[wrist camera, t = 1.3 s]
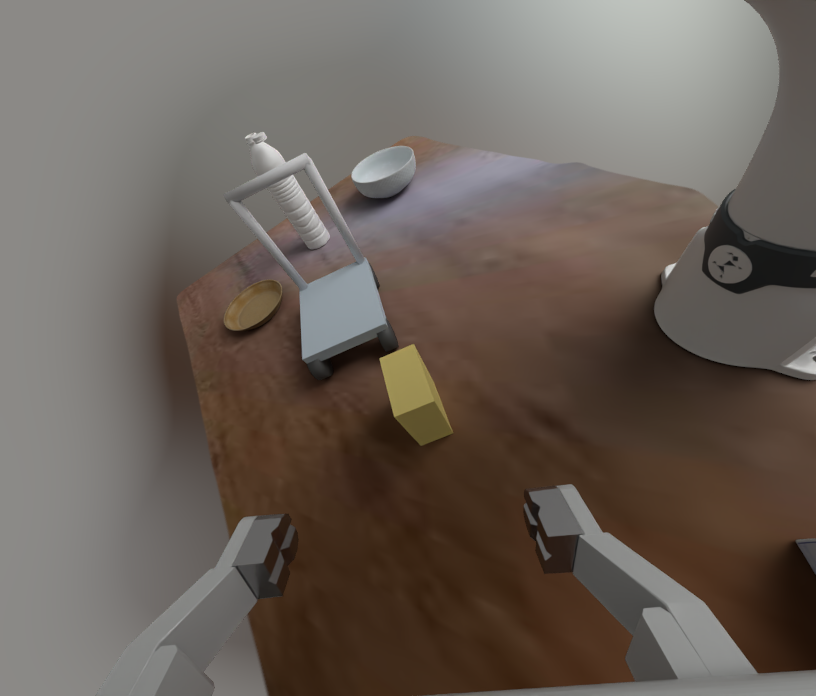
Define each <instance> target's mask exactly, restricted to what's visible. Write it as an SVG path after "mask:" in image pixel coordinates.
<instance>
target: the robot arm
mask: <svg viewBox="0 0 816 696" xmlns="http://www.w3.org/2000/svg"><path fill="white" fill-rule="evenodd" d="M744 1H746V2H747V3H749V4H750V5H751V6H752V7H753V8H754V9H755V10H756V11H757V12H758V13H759V14H760V16H761V17H762V18H763V20H764V21H765V23H766V24H767V26H768V28H769V30H770V32H771V34H772V36H773V39H774V41H775V45H776V49H777V54H778V60H779V86H778V93H777V98H776V102H775V106H774V109H773V112H772V115H771V117H770V120H769V122H768V124H767V127H766V129H765V131H764V134H763V136H762V138H761V141H760V143H759V145H758V147H757V149H756V151H755V153H754V155H753V158H752V160H751V161H750V163H749V166H748V167H747V169H746V171H745V173H744V175H743V177H742V179H741V181H740V182H739V184H738V186H737V188H736V189H734V190H733V191H732V192H730V193H729V194H728V195H727V197H726V198H725V199H724V200H723V202H722V204H721V205H720V206H719V207H718V208H717V210H716V211H715V213H714V215H713V216H712V218H711V220H710V224H709V226H707V227H703V228H701V229H700V230H699V231H698V232H697V233H696V234H695V236H694V237H693V239H692V240H691V242H690V243H689V245H688V246H687V248H686V249H685V251H684V252H683V254H682V256H681V257H680V259H679V260H678V262H677V263H675V264H671V265H669V266H667V267H666V268H665V269H664V271H663V272H662V274H661V280H662V286H663V287H662V290H661V292H660V293H659V295H658V297H657V299H656V301H655V305H654V313H655V317H656V320H657V322H658V324H659V326H660V327H661V329H662V330H663V331H664V333H665V334H666V335H667V336H668V337H669V338H670V339H672V340H673V341H674V342H675V343H677V344H678V345H680V346H681V347H683V348H685V349H686V350H688V351H690V352H692V353H694V354H696V355H699V356H701V357H703V358H706V359H709V360H712V361H716V362H720V363H724V364H728V365H734V366H741V367H753V368H763V369H770V370H773V371H777V372H780V373H783V374H786V375H789V376H792V377H796V378H800V379H805V380H816V362H815V361H814V360H816V0H744ZM524 498H525V500H526V504H525V505H524V518H525V523H526V526H527V530H528V532H529V535H530V537H531V538H532V539H533V540H535V541H536V550H535V551H536V554H537V556H538V559H539V561H540V564H541V567H542V569H543V572H544V574H548V573H566V572H573V575H574V576H575V577H576V578H577V579H578V580H579V581H580V582H581V583H582V584H583V585H584V586H585V587H586V588H587V589H588V590H589V591H590V592H591V593H592V594H593V595H594V596H595V597H596V598H597V599H598V600H599V601H600V602H601V603H602V604H603V605H604V607H605V608H606V609H607V610H608V611H609V612H610V613H611V614H612V615H613V616H614V617H615V618H616V619H617V620H618V621H619V622H620V623H621V624H622V625H623V626H624V627H625V628H626V629H627V630H628V631H629V632H630V633H631V634H632V635H633V638H632V641H631V643H630V646H629V649H628V651H627V654H626V657H625V660H626V662H627V665H628V667H629V669H630V671H631V673H632V675H633V677H634V679H635V681H636V682H623V683H607V684H592V685H577V686H562V687H546V688H531V689H516V690H501V691H485V692H470V693H455V694H440V695H424V696H816V670H806V671H791V672H775V673H760V674H758V673H757V672H756V670H755V669H754V668H753V666H752V665H751V664H750V662H749V661H748V660H747V658H746V657H745V656H744V654H743V653H742V652H741V650H740V649H739V648H738V646H737V645H736V644H735V643H734V641H733V640H732V639H731V637H730V636H729V635H728V633H727V632H726V631H725V629H724V628H723V627H722V625H721V624H720V623H719V621H718V620H717V619H716V617H715V616H714V615H713V613H712V612H711V611H710V609H709V608H708V607H707V605H706V604H705V603H704V602H703V601H702V600H700V599H699V598H698V597H696V596H695V595H693V594H692V593H691V592H689V591H688V590H687V589H685V588H684V587H682V586H681V585H680V584H678V583H677V582H675V581H674V580H673V579H671V578H670V577H669V576H667V575H666V574H664V573H663V572H662V571H660V570H659V569H658V568H656V567H655V566H653V565H652V564H651V563H649V562H648V561H646V560H645V559H644V558H642V557H641V556H640V555H638V554H637V553H635V552H634V551H633V550H631V549H630V548H629V547H627V546H626V545H624V544H623V543H622V542H620V541H619V540H617V539H616V538H615V537H613V536H612V535H611V534H609V533H603V532H602V531H601V529H600V527H599V526H598V524H597V522H596V521H595V519H594V517H593V516H592V514H591V513H590V511H589V509H588V508H587V506H586V504H585V503H584V501H583V499H582V498H581V496H580V495H579V493H578V491H577V490H576V488H575V487H574V486H573V485H572V484H568V485H560V486H547V487H538V488H530V489H525V491H524ZM291 520H292V519H291V518H290V516H289V514H276V515H263V516H251V517H244V518H243V519H242V520H241V521H240V522H239V524H238V525H237V527H236V529H235V531H234V533H233V535H232V537H231V539H230V541H229V542H228V544H227V546H226V548H225V550H224V552H223V554H222V556H221V558H220V559H219V561H218V563H217V565H216V567H215V568H214V569H210V570H209V571H208V572H207V573H205V574H204V575H203V576H202V577H201V578H200V579H199V580H198V581H197V582H196V583H195V584H194V585H193V586H191V587H190V588H189V589H188V590H187V591H186V592H185V593H184V594H183V595H182V596H181V597H180V598H179V599H177V600H176V601H175V602H174V603H173V604H172V605H171V606H170V607H169V608H168V609H167V610H166V611H165V612H163V613H162V614H161V615H160V616H159V617H158V618H157V619H156V620H155V621H154V622H153V623H152V624H151V625H150V626H149V627H147V628H146V629H145V630H144V631H143V632H142V633H141V634H140V635H139V636H138V637H137V638H136V639H134V640H133V641H132V642H131V643H130V644H129V645H128V646H127V647H126V648H125V650H124V652H123V653H122V655H121V656H120V658H119V659H118V661H117V663H116V664H115V666H114V667H113V669H112V671H111V672H110V674H109V675H108V677H107V678H106V680H105V682H104V683H103V685H102V686H101V688H100V689H99V691H98V692H97V694H96V696H212V693H213V691H214V688H215V687H214V683H213V681H212V680H211V679H210V678H209V677H208V676H207V675H206V674H205V673H204V670H205V669H206V668H207V666H208V665H209V664H210V663H211V661H212V660H213V659H214V657H215V656H216V655H217V653H218V652H219V651H220V649H221V648H222V647H223V645H224V644H225V643H226V641H227V640H228V639H229V638H230V636H231V635H232V634H233V632H234V631H235V629H236V628H237V627H238V626H239V624H240V623H241V622H242V620H243V619H244V618H245V617H246V615H247V614H248V613H249V611H250V610H251V609H252V607H253V606H254V605H255V603H256V602H257V599H262V598H271V597H279V596H283V594H284V591H285V588H286V584H287V581H288V578H289V575H290V571H289V567H288V565H289V564H290V563H291V562H292V561H293V560H294V559H295V556H296V553H297V549H298V540H299V539H298V532H297V530H296V528H295V527H293V526H292V525H290V523H291Z"/></svg>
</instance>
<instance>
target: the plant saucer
mask: <svg viewBox="0 0 816 696" xmlns="http://www.w3.org/2000/svg"><path fill="white" fill-rule="evenodd" d="M281 300H282V286H281V284H280V283H279V282H278V281H275V280H263V281H260V282H257V283H255V284H253V285H251V286H249V287H248V288H246V289H245V290H243V291H242V292H241V293H240V294H239V295H238V296H237V297H236V298H235V299H234V300H233V301H232V302H231V303H230V305H229V306H228V308H227V310H226V312H225V315H224V324H225V326H226V327H227V328H228V329H230V330H234V331H245V330H251V329H255V328H257V327H259V326H261V325H263V324H265V323H266V322H267V321H269V320H270V319H271V318H272V317H273V316H274V315H275V313H276V312H277V310H278V309H279V307H280V304H281Z"/></svg>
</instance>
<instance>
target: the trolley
mask: <svg viewBox="0 0 816 696" xmlns="http://www.w3.org/2000/svg"><path fill="white" fill-rule="evenodd" d="M303 169H304V170H305V172H306V174H307V175H308V177H309V179H310V181H311V183H312V184H313V186H314V188H315V190H316V191H317V193H318V195H319V197H320V198H321V200H322V202H323V204H324V205H325V207H326V209H327V211H328V212H329V214H330V216H331V218H332V219H333V221H334V223H335V225H336V226H337V228H338V230H339V232H340V233H341V235H342V237H343V239H344V240H345V242H346V244H347V246H348V247H349V249H350V251H351V253H352V254H353V256H354V258H355V260H356V261H357V262H355V263H352V264H350V265H348V266H346V267H344V268H342V269H339V270H337V271H335V272H333V273H331V274H329V275H326V276H324V277H322V278H320V279H318V280H316V281H313V282H311V283H309V284H306V282H305V281H304V280H303V279H302V277H301V276H300V275H299V273H298V272H297V271H296V270H295V268H294V267H293V266H292V265H291V263H290V262H289V261H288V260H287V258H286V257H285V256H284V255H283V253H282V252H281V251H280V250H279V248H278V247H277V246H276V245H275V243H274V242H273V241H272V240H271V238H270V237H269V236H268V235H267V233H266V232H265V231H264V230H263V228H262V227H261V226H260V225H259V223H258V222H257V221H256V220H255V218H254V217H253V216H252V214H251V213H250V212H249V211H248V209H247V208H246V207H245V206H244V204H243V203H242V202H241V200H243V199H245V198H247V197H249V196H251V195H253V194H255V193H257V192H259V191H261V190H263V189H265V188H267V187H269V186H271V185H273V184H275V183H277V182H279V181H281V180H283V179H285V178H287V177H289V176H291V175H293V174H295V173H297V172H299V171H301V170H303ZM224 197H225V199H226V201H227V202H228V203H229V205H230V206H231V207H232V208H233V210H234V211H235V212H236V213H237V214H238V215H239V217H240V218H241V219H242V220H243V222H244V223H245V224H246V225H247V226H248V227H249V229H250V230H251V231H252V232H253V233H254V235H255V236H256V237H257V238H258V239H259V241H260V242H261V243H262V244H263V245H264V247H265V248H266V249H267V250H268V251H269V253H270V254H271V255H272V256H273V257H274V259H275V260H276V261H277V262H278V263H279V265H280V266H281V267H282V268H283V269H284V271H285V272H286V273H287V274H288V275H289V277H290V278H291V279H292V280H293V281H294V283H295V284H296V285H297V286H298V287H299V290H300V315H301V340H302V360H303V361H304V362H306V363H307V366H308V368H309V370H310V372H311V374H312V375H313V376H314V377H315V378H316V379H317V380H322V379H324V378H327V377H329V376H331V375H332V374H333V366H332V363H331V360H330V357H332V356H334V355H337V354H339V353H341V352H344V351H346V350H348V349H351V348H353V347H355V346H357V345H360V344H362V343H364V342H367V341H369V340H371V339H374V338H376V337H378V338H379V341H380V343H381V345H382V346H383V348H384V350H385V351H386V352H387V351H390V350H392V349H394V348H397V347H399V346H398V342H397V339H396V336H395V334H394V331H393V329H392V327H391V325H390V323H389V321H388V320H387V318H386V316H385V313H384V309H383V306H382V303H381V300H380V296H379V293H378V290H377V287H379V286H380V285H379V282H378V280H377V277H376V275H375V273H374V271H373V269H372V267H371V265H370V263H369V262H368V261H367V259H366V257H365V258H364V256H363V254H362V253H361V251H360V249H359V247H358V245H357V243H356V241H355V239H354V238H353V236H352V234H351V232H350V230H349V228H348V226H347V225H346V223H345V221H344V219H343V217H342V215H341V213H340V212H339V210H338V208H337V206H336V204H335V202H334V200H333V199H332V197H331V195H330V193H329V191H328V189H327V187H326V185H325V184H324V182H323V180H322V178H321V177H320V174H319V172H318V171H317V169H316V167H315V165H314V164H313V161H312V159H311V158H310V157H308V155H307V154H306V153H304V154H302V155H300V156H298V157H296V158H294V159H292V160H290V161H288V162H286V163H284V164H282V165H280V166H278V167H276V168H274V169H272V170H270V171H268V172H266V173H264V174H262V175H260V176H258V177H256V178H254V179H252V180H250V181H248V182H246V183H244V184H242V185H240V186H238V187H236V188H234V189H233V190H231V191H229V192H227V193H225V194H224Z"/></svg>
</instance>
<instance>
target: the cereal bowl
mask: <svg viewBox="0 0 816 696" xmlns="http://www.w3.org/2000/svg"><path fill="white" fill-rule="evenodd" d="M415 168H416V163H415V157H414V152H413V150H412V149H411V148H409V147H406V146H396V147H390V148H387V149H384V150H381V151H378V152H376V153H374V154H372V155H370V156H368V157H367V158H365V159H364V160H362V161H361V162H360V163H359V164H358V165H357V166H356V167H355V168H354V170H353V172H352V180H353V182H354V184H355V186H356V188H357V189H358V191H359V192H361V193H362V194H363V195H365V196H367V197H370V198H388V197H391V196H394V195H396V194H398V193H399V192H400V191H401V190H402V189H403V188H404V187H405V186H407V184H409V182H410V181H411V179H412V178H413V175H414V173H415Z"/></svg>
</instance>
